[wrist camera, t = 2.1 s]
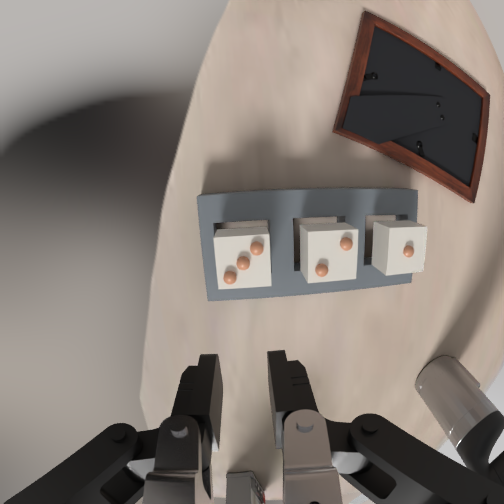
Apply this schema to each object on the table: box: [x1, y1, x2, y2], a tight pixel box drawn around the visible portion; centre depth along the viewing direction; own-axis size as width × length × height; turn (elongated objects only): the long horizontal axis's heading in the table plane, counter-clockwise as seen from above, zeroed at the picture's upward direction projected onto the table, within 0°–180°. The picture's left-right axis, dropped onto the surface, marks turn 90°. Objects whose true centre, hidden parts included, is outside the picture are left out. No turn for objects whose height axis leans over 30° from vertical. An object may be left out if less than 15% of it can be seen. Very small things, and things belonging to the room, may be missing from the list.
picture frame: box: [332, 11, 490, 203], centre depth 29 cm, size 20×2×25 cm
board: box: [197, 188, 418, 301], centre depth 32 cm, size 26×12×3 cm, turn 93°
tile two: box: [300, 222, 358, 283], centre depth 28 cm, size 5×5×5 cm
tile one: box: [372, 220, 427, 276], centre depth 28 cm, size 5×5×5 cm
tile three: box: [213, 226, 271, 289], centre depth 28 cm, size 5×5×5 cm
